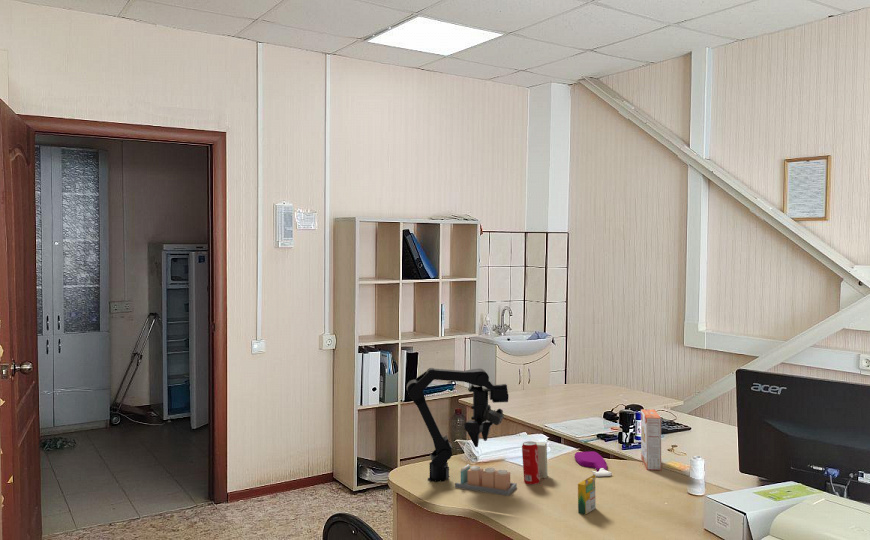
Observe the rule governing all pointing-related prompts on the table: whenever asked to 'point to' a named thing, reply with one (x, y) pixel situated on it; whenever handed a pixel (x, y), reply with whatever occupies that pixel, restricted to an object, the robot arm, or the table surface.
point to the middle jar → (488, 477)
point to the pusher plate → (464, 474)
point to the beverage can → (530, 463)
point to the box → (542, 459)
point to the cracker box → (651, 439)
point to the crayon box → (586, 495)
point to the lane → (487, 488)
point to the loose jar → (475, 476)
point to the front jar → (502, 480)
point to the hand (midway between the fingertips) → (480, 443)
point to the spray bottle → (593, 462)
